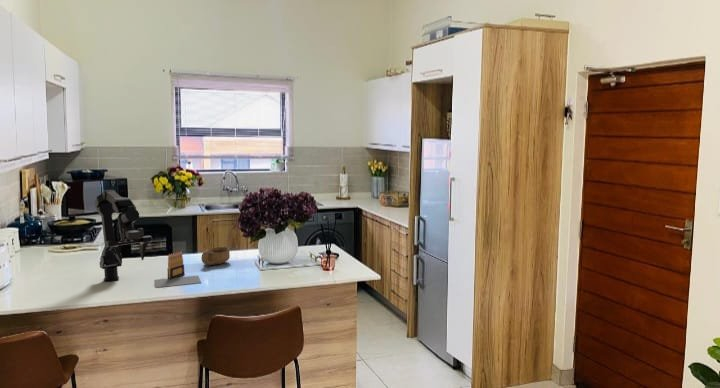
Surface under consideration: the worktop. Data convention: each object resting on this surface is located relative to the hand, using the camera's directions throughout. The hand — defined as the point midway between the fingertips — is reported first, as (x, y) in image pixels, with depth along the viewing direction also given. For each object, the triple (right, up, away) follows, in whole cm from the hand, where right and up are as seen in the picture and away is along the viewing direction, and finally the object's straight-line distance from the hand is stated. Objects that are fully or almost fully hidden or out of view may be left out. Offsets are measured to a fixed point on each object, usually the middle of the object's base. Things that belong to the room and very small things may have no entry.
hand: (132, 261), depth 239 cm
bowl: (+22, -8, +54) cm, 59 cm away
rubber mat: (+13, -12, +19) cm, 26 cm away
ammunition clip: (+10, -11, +28) cm, 32 cm away
